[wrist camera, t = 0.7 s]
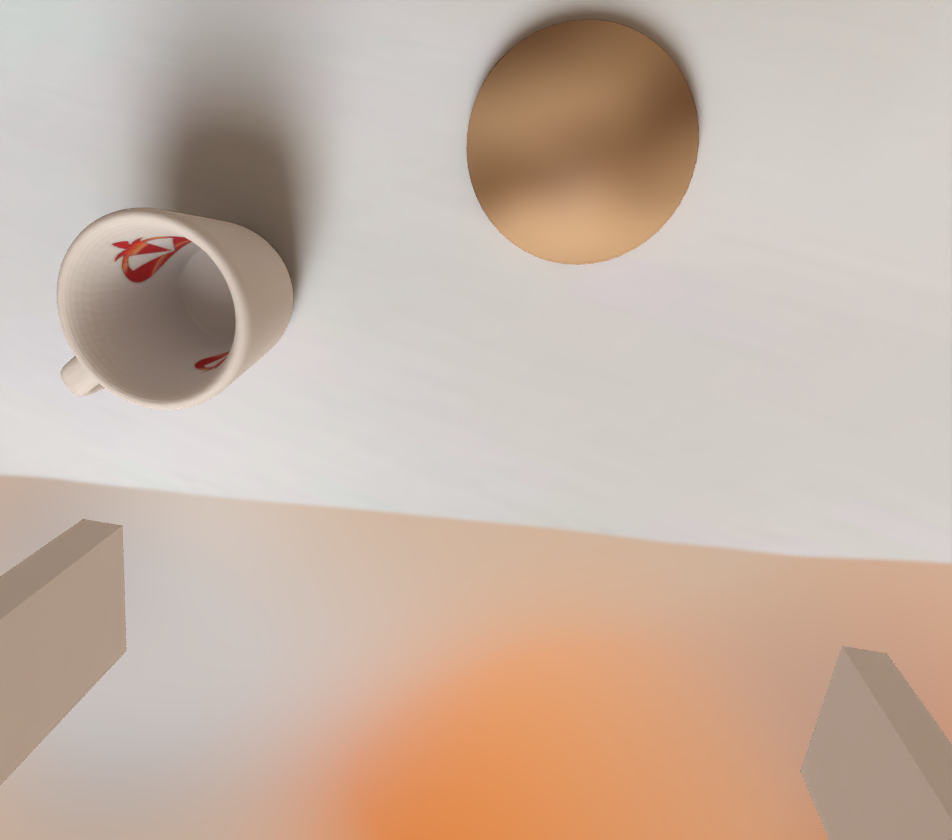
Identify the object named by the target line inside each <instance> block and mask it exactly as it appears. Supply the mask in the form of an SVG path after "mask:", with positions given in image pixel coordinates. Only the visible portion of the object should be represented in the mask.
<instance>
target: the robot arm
mask: <svg viewBox="0 0 952 840" xmlns="http://www.w3.org/2000/svg"><path fill="white" fill-rule="evenodd" d="M125 625H126V623H125V591H124V556H123V526H121V525H115V524H109V523H103V522H97V521H91V520H86V519H83V520H81V521H80V522H78V523H77V524H75V525H74V526H73V527H71V528H70V529H68V530H67V531H65V532H64V533H62V534H61V535H60V536H58V537H57V538H55V539H54V540H52V541H51V542H49V543H48V544H47V545H45V546H44V547H42V548H41V549H40V550H38V551H36V552H35V553H34V554H32V555H31V556H29V557H28V558H26V559H25V560H24V561H22V562H21V563H19V564H18V565H16V566H15V567H13V568H12V569H10V570H9V571H7V572H6V573H5V574H3V575H2V576H0V785H1V784H2V783H3V782H4V781H5V780H6V779H7V778H8V777H9V775H10V774H11V773H12V772H13V771H14V770H15V769H16V768H17V767H18V766H19V765H20V764H21V763H22V762H23V761H24V760H25V758H26V757H27V756H28V755H29V754H30V753H31V752H32V751H33V750H34V749H35V748H36V747H37V746H38V744H39V743H40V742H41V741H42V740H43V739H44V738H45V737H46V736H47V735H48V734H49V733H50V732H51V731H52V730H53V729H54V728H55V726H56V725H57V724H58V723H59V722H60V721H61V720H62V719H63V718H64V717H65V716H66V715H67V714H68V713H69V712H70V710H71V709H72V708H73V707H74V706H75V705H76V704H77V703H78V702H79V701H80V700H81V699H82V698H83V697H84V696H85V694H86V693H87V692H88V691H89V690H90V689H91V688H92V687H93V686H94V685H95V684H96V683H97V682H98V681H99V679H100V678H101V677H102V676H103V675H104V674H105V673H106V672H107V671H108V670H109V669H110V668H111V667H112V665H114V664H115V662H116V661H117V660H118V659H119V658H120V657H121V656H122V655H123V654H124V653H125V652H126V626H125ZM800 772H801V774H802V776H803V779H804V781H805V783H806V786H807V788H808V791H809V793H810V795H811V798H812V800H813V802H814V805H815V807H816V809H817V812H818V814H819V816H820V819H821V821H822V824H823V826H824V828H825V831H826V833H827V836H828V838H829V840H952V744H951V742H950V741H949V739H948V738H947V737H946V735H945V734H944V732H943V731H942V730H941V728H940V727H939V726H938V724H937V723H936V721H935V720H934V718H933V717H932V716H931V714H930V713H929V712H928V710H927V709H926V707H925V706H924V705H923V703H922V702H921V700H920V699H919V698H918V696H917V695H916V693H915V692H914V691H913V689H912V688H911V687H910V685H909V684H908V682H907V681H906V680H905V678H904V677H903V675H902V674H901V673H900V671H899V670H898V669H897V667H896V666H895V664H894V663H893V661H892V660H891V659H890V657H889V656H888V654H887V653H881V652H875V651H869V650H863V649H857V648H851V647H845V646H842V648H841V650H840V653H839V657H838V659H837V662H836V665H835V668H834V671H833V674H832V677H831V680H830V683H829V686H828V689H827V692H826V696H825V698H824V701H823V704H822V707H821V710H820V713H819V716H818V719H817V722H816V725H815V728H814V731H813V734H812V737H811V740H810V743H809V747H808V749H807V752H806V755H805V758H804V761H803V764H802V767H801V770H800Z"/></svg>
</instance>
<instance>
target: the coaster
mask: <svg viewBox="0 0 952 840" xmlns="http://www.w3.org/2000/svg"><path fill="white" fill-rule="evenodd" d="M698 144H699V127H698V120H697V112H696V108H695V104H694V100H693V97H692V94H691V91H690V89H689V87H688V84H687V82H686V80H685V78H684V76H683V75H682V73H681V71H680V69H679V68H678V66H677V65H676V64H675V63H674V61H673V60H672V59H671V57H670V56H669V55H668V54H667V53H666V52H665V51H664V50H663V49H662V48H661V47H660V46H659V45H658V44H657V43H655V42H654V41H652V40H651V39H649V38H648V37H647V36H645V35H644V34H642V33H640V32H638V31H636V30H634V29H632V28H630V27H627V26H624V25H621V24H618V23H615V22H609V21H603V20H590V19H582V20H574V21H566V22H563V23H559V24H555V25H552V26H549V27H547V28H544V29H542V30H540V31H537V32H536V33H534V34H532V35H530V36H529V37H527V38H525V39H524V40H522V41H521V42H520V43H518V44H517V45H516V46H515V47H513V48H512V49H511V50H510V51H509V52H508V53H507V54H506V55H505V56H504V57H503V58H502V59H501V60H500V61H499V62H498V63H497V65H496V66H495V67H494V69H493V70H492V71H491V72H490V74H489V75H488V77H487V79H486V80H485V82H484V84H483V86H482V87H481V89H480V91H479V94H478V96H477V98H476V101H475V103H474V106H473V110H472V113H471V117H470V121H469V127H468V133H467V162H468V169H469V174H470V179H471V183H472V186H473V189H474V191H475V194H476V197H477V199H478V201H479V203H480V205H481V207H482V209H483V211H484V212H485V214H486V215H487V217H488V218H489V220H490V221H491V222H492V224H493V225H494V226H495V227H496V228H497V229H498V230H499V232H500V233H501V234H503V235H504V236H505V237H506V238H507V239H508V240H509V241H510V242H512V243H513V244H515V245H516V246H518V247H519V248H521V249H522V250H524V251H526V252H528V253H530V254H532V255H534V256H536V257H539V258H542V259H545V260H548V261H552V262H557V263H562V264H578V265H579V264H592V263H597V262H602V261H606V260H610V259H612V258H615V257H618V256H621V255H623V254H625V253H627V252H629V251H631V250H633V249H635V248H636V247H638V246H639V245H641V244H642V243H644V242H645V241H647V240H648V239H649V238H651V237H652V236H653V235H654V234H655V233H656V232H657V231H659V230H660V229H661V227H662V226H663V225H664V224H665V223H666V222H667V221H668V220H669V219H670V217H671V216H672V214H673V213H674V212H675V210H676V209H677V207H678V206H679V204H680V202H681V201H682V199H683V197H684V195H685V193H686V191H687V189H688V186H689V184H690V181H691V178H692V176H693V172H694V168H695V164H696V160H697V152H698Z"/></svg>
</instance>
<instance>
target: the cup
mask: <svg viewBox="0 0 952 840" xmlns="http://www.w3.org/2000/svg"><path fill="white" fill-rule="evenodd" d="M57 307H58V313H59V318H60V322H61V326H62V329H63V332H64V334H65V337H66V339H67V342H68V344H69V346H70V348H71V349H72V351H73V353H74V354H75V357H73V358H72V359H71V360H70V361H69V362H68V363H67V364H66V365H65V366H64V367H63V368H62V370H61V377H62V380H63V382H64V383H65V384H66V386H67V387H68V388H69V389H70V391H71V392H72V393H74V394H75V395H77V396H81V397H82V396H87V395H90V394H93V393H95V392H97V391H99V390H102V389H104V388H106V389H107V390H109V391H110V392H112V393H113V394H115V395H117V396H119V397H120V398H122V399H124V400H127V401H129V402H131V403H134V404H137V405H141V406H144V407H148V408H154V409H182V408H187V407H191V406H194V405H197V404H201V403H203V402H205V401H207V400H209V399H211V398H212V397H214V396H216V395H217V394H219V393H220V392H221V391H223V390H224V389H225V388H226V387H227V386H229V385H230V384H231V383H232V382H233V381H234V380H236V379H237V378H238V377H239V376H240V375H242V374H243V373H244V372H245V371H246V370H247V369H249V368H250V367H251V366H252V365H253V364H255V363H256V362H257V361H258V360H259V359H260V358H262V357H263V356H264V355H265V354H266V353H267V352H268V351H269V350H271V349H272V348H273V347H274V346H275V344H276V343H277V342H278V341H279V340H280V338H281V337H282V335H283V334H284V332H285V330H286V328H287V326H288V323H289V321H290V317H291V314H292V308H293V289H292V283H291V279H290V276H289V273H288V270H287V268H286V266H285V264H284V262H283V260H282V259H281V257H280V256H279V254H278V253H277V252H276V251H275V249H274V248H273V247H272V246H271V245H270V244H269V243H268V242H267V241H266V240H264V239H263V238H262V237H260V236H259V235H258V234H256V233H254V232H253V231H251V230H249V229H247V228H245V227H242V226H240V225H237V224H234V223H230V222H226V221H221V220H216V219H210V218H205V217H200V216H194V215H189V214H183V213H178V212H173V211H167V210H162V209H156V208H130V209H123V210H119V211H116V212H113V213H110V214H107V215H105V216H103V217H101V218H99V219H97V220H96V221H94V222H93V223H91V224H90V225H89V226H87V227H86V228H85V229H84V230H83V231H82V232H81V233H80V234H79V235H78V236H77V237H76V239H75V240H74V241H73V243H72V244H71V246H70V247H69V249H68V251H67V253H66V255H65V257H64V259H63V262H62V265H61V268H60V272H59V277H58V283H57Z"/></svg>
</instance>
